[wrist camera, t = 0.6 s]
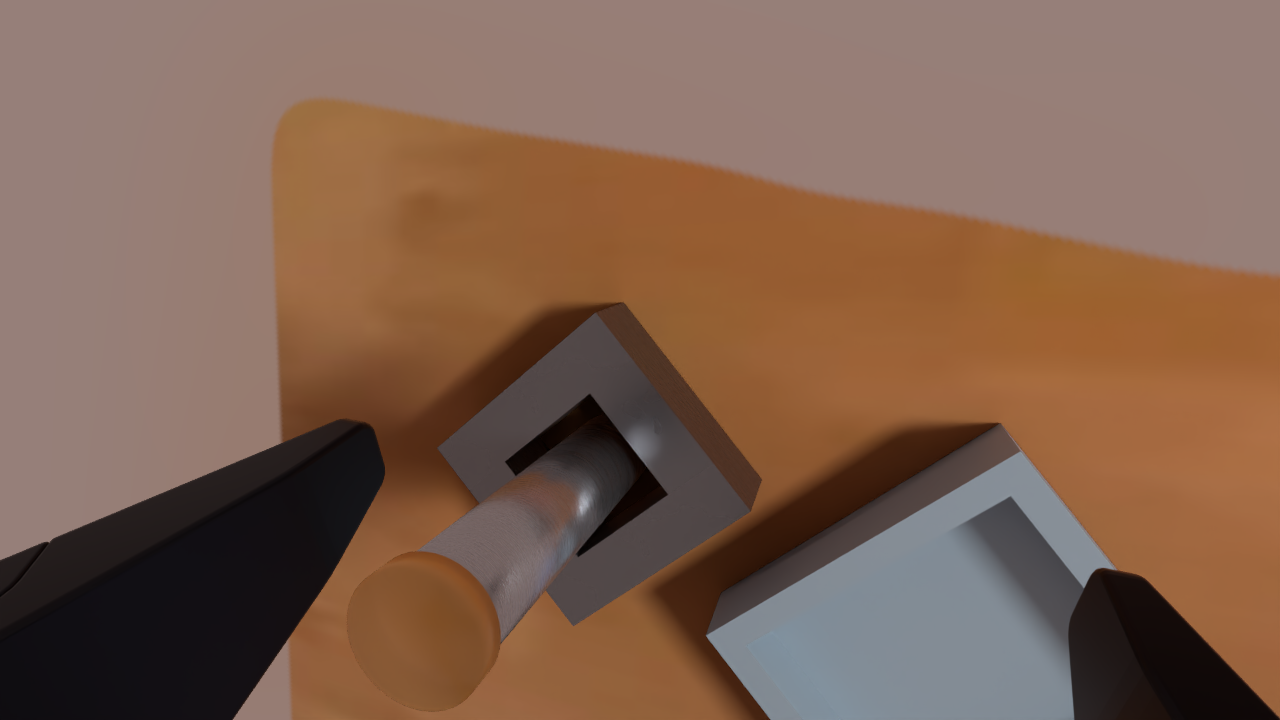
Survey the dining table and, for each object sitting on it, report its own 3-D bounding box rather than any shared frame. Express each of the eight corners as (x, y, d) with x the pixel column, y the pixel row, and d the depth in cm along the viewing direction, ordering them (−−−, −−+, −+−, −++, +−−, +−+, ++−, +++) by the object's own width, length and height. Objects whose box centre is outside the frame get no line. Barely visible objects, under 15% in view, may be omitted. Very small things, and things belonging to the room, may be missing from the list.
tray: (912, 840, 27) (919, 912, 24) (721, 592, 27) (705, 635, 24) (1231, 712, 23) (1284, 782, 20) (1000, 423, 23) (1020, 451, 20)
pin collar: (600, 586, 29) (573, 626, 26) (477, 425, 29) (437, 448, 26) (761, 479, 26) (750, 511, 23) (623, 302, 26) (595, 312, 23)
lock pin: (607, 507, 28) (411, 735, 16) (555, 440, 28) (320, 614, 16) (670, 462, 27) (513, 669, 14) (616, 392, 27) (414, 539, 15)
